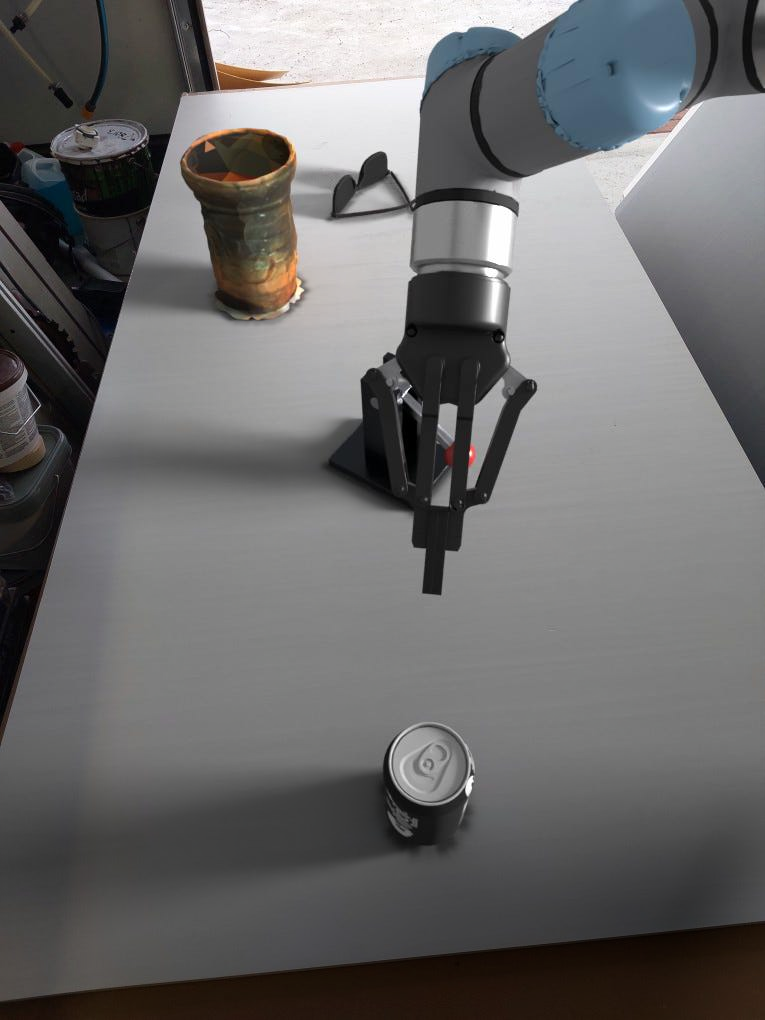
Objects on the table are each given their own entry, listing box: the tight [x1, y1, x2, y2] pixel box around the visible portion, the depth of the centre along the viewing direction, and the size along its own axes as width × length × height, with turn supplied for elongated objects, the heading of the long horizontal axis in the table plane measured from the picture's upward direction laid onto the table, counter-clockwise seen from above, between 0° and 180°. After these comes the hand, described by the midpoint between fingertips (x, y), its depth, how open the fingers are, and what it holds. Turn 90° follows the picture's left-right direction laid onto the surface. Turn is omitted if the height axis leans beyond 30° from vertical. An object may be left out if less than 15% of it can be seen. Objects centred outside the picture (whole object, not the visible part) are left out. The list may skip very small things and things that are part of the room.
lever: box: [398, 372, 476, 469], centre depth 71 cm, size 13×3×3 cm
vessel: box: [179, 127, 305, 321], centre depth 92 cm, size 14×14×20 cm
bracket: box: [327, 351, 452, 511], centre depth 75 cm, size 12×9×14 cm
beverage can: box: [382, 721, 476, 847], centre depth 53 cm, size 7×7×12 cm
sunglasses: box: [330, 150, 415, 220], centre depth 111 cm, size 17×14×5 cm
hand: (432, 589), depth 54 cm, fingers closed
